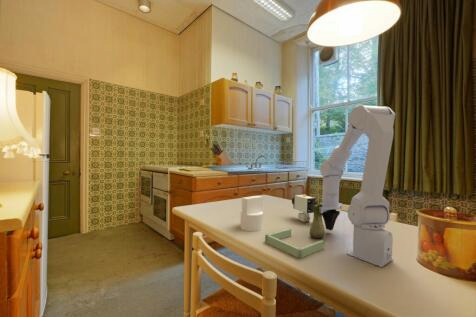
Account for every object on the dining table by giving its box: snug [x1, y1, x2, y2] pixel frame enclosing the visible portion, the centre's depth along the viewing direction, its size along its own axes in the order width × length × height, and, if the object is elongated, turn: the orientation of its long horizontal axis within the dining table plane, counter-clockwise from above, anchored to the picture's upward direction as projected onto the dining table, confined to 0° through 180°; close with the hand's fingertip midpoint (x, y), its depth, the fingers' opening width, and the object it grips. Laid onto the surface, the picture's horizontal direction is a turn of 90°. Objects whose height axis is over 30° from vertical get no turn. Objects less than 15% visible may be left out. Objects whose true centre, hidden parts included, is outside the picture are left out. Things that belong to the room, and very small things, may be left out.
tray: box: [264, 228, 325, 259], centre depth 71 cm, size 14×12×2 cm
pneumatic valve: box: [291, 193, 319, 223], centre depth 99 cm, size 6×12×12 cm, turn 29°
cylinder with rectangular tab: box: [239, 195, 264, 232], centre depth 88 cm, size 9×9×12 cm
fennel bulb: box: [309, 203, 326, 239], centre depth 79 cm, size 6×5×12 cm
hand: (329, 229), depth 84 cm, fingers closed
